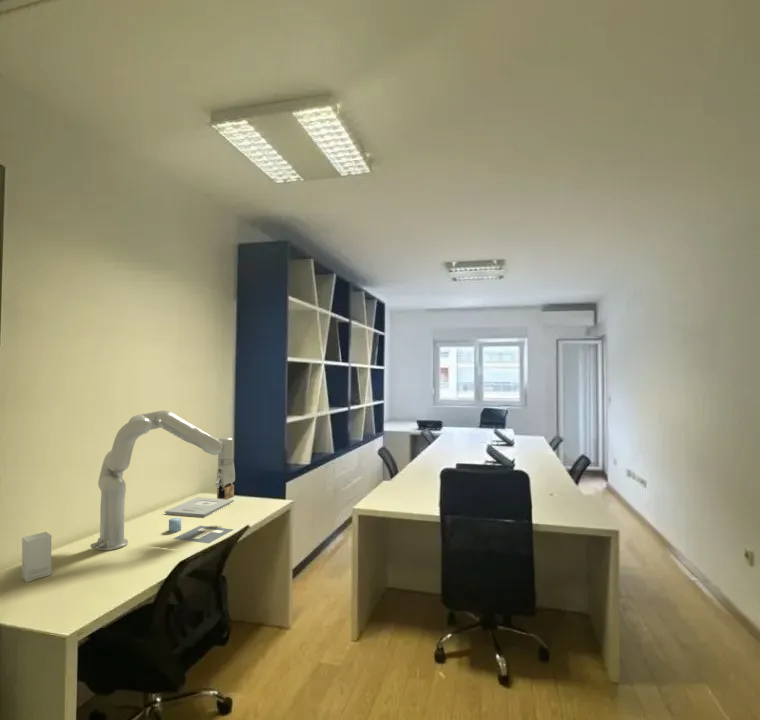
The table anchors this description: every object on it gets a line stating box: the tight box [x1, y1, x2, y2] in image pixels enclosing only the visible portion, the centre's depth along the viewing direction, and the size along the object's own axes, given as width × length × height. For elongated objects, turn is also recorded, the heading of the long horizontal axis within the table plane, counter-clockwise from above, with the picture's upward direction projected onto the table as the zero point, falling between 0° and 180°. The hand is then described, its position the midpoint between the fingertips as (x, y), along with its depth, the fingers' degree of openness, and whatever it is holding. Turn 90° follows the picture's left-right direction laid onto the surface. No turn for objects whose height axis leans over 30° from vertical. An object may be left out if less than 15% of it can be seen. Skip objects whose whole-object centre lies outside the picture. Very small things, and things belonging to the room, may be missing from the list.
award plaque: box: [164, 496, 235, 518], centre depth 273 cm, size 25×30×2 cm
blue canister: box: [168, 517, 182, 533], centre depth 233 cm, size 6×6×6 cm
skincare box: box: [21, 531, 52, 583], centre depth 182 cm, size 8×7×16 cm
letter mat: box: [172, 525, 235, 544], centre depth 228 cm, size 20×20×1 cm
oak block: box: [216, 484, 235, 500], centre depth 246 cm, size 6×6×6 cm
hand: (225, 495), depth 246 cm, fingers closed on oak block, 6 cm apart
